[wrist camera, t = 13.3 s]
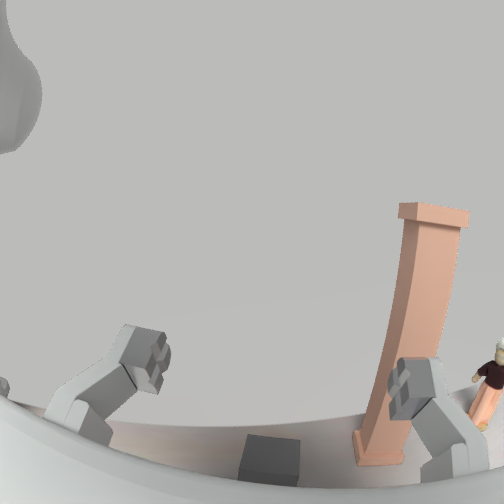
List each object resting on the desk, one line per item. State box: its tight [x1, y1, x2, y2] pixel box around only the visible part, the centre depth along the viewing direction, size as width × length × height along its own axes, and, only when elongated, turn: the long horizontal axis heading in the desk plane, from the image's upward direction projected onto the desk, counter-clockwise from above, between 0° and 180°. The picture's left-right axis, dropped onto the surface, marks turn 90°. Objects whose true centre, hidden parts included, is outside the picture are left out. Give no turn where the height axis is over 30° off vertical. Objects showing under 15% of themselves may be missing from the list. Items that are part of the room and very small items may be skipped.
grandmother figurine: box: [466, 337, 504, 431], centre depth 29 cm, size 8×4×13 cm, turn 30°
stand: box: [352, 202, 469, 466], centre depth 26 cm, size 5×5×26 cm
